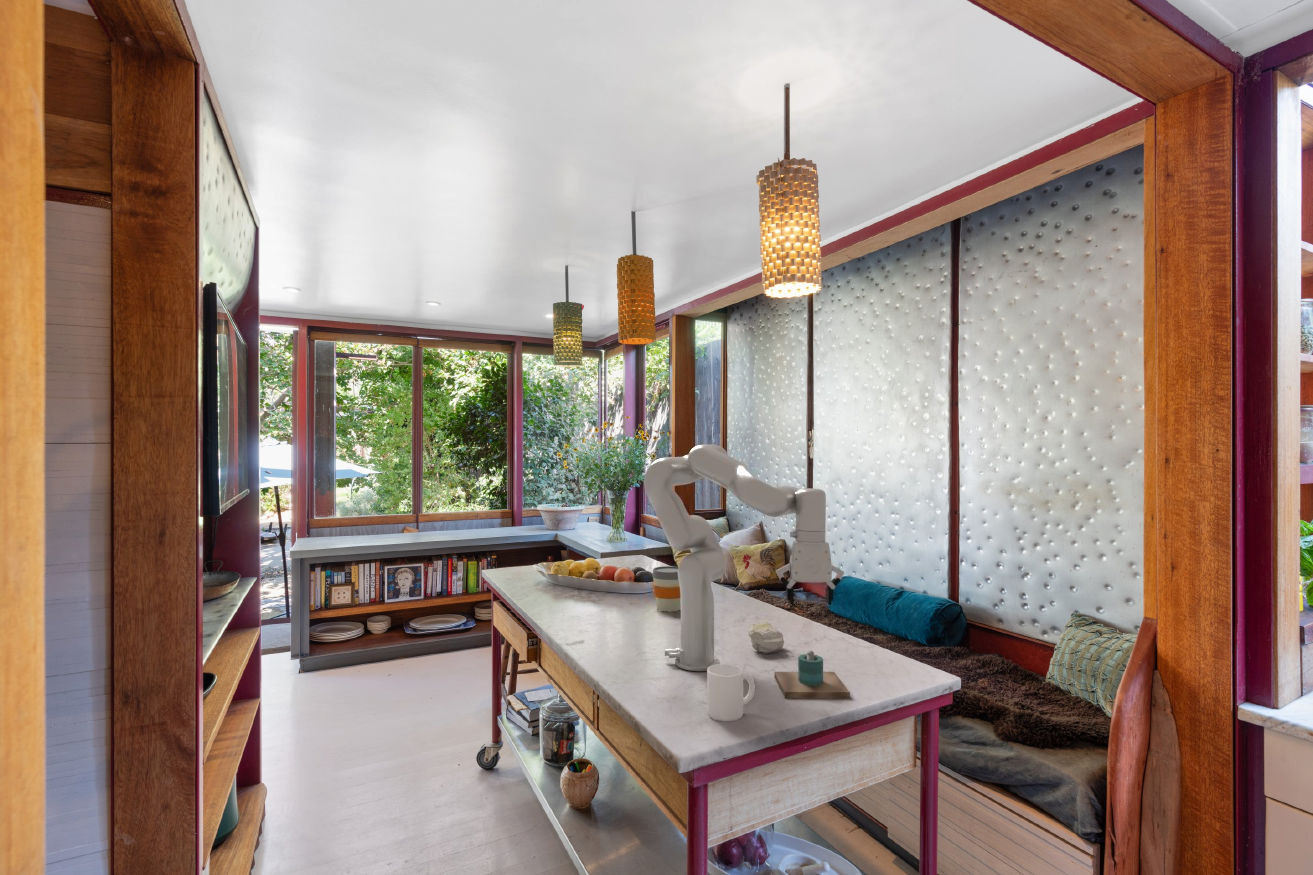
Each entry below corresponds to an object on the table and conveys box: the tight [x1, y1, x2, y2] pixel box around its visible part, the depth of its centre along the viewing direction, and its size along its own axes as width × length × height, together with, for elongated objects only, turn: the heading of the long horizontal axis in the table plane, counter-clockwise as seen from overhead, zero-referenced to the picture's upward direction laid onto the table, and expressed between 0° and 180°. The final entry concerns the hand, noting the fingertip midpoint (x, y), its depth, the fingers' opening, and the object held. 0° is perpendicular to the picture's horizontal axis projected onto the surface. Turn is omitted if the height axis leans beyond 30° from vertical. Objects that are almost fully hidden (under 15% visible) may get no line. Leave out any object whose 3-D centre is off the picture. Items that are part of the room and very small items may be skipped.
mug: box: [706, 663, 756, 723], centre depth 147 cm, size 12×8×10 cm
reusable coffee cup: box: [651, 565, 681, 613], centre depth 241 cm, size 12×13×15 cm
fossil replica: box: [747, 622, 785, 654], centre depth 192 cm, size 12×8×10 cm
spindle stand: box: [773, 650, 851, 699], centre depth 163 cm, size 16×14×9 cm
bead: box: [797, 653, 824, 686], centre depth 163 cm, size 6×6×6 cm
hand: (809, 603), depth 163 cm, fingers open, 9 cm apart
